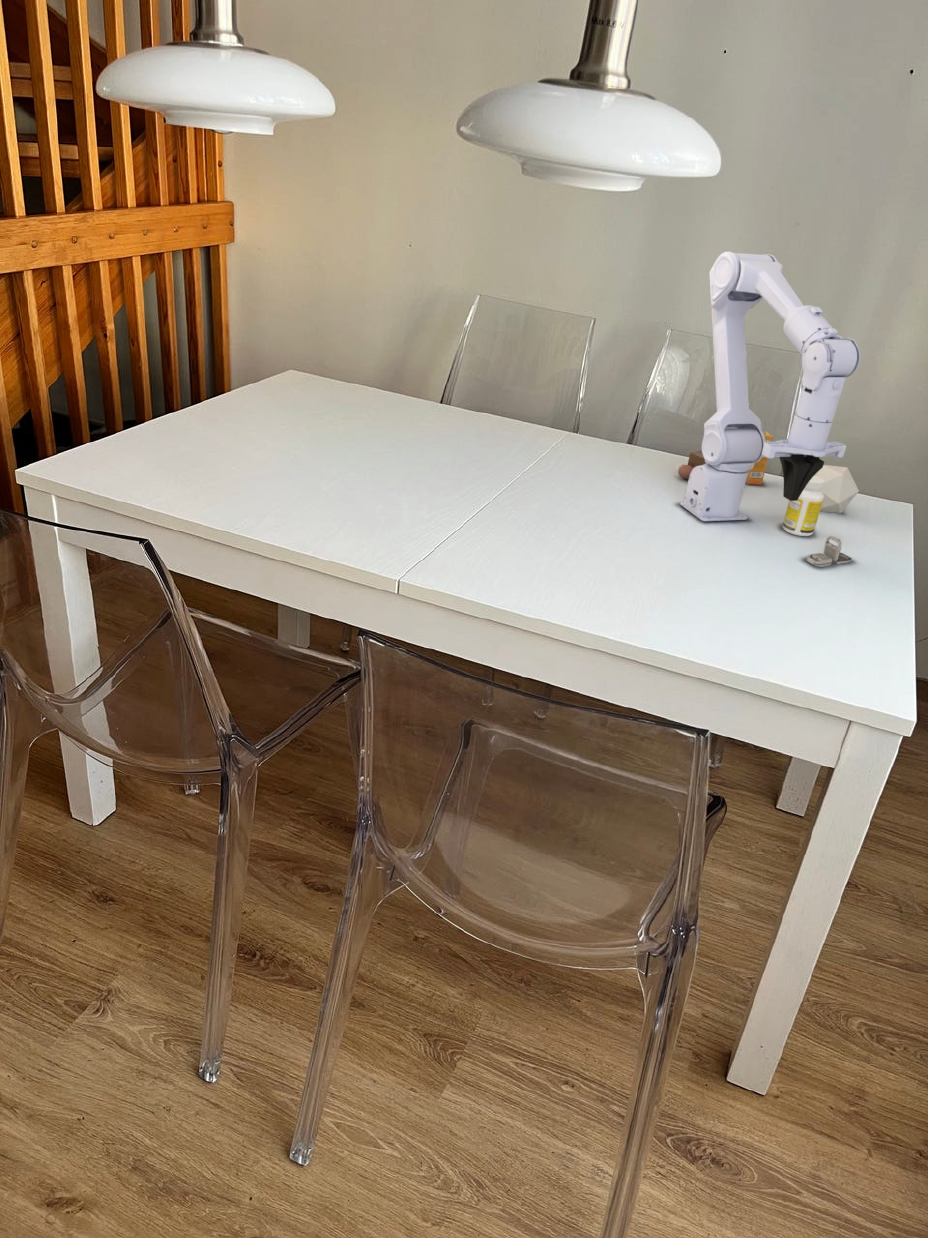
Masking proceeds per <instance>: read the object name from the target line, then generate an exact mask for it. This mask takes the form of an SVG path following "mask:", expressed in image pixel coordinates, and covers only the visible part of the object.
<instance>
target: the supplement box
mask: <svg viewBox="0 0 928 1238" xmlns="http://www.w3.org/2000/svg"><path fill="white" fill-rule="evenodd" d="M762 432H763V435H764V437H765V442H773V438H774V436H773V435H771V434H770V433H769V431H762ZM768 459H769V458H767V457H766V456H764V455H763V457H762V458H761V460H760V461H758V462H757V463H754V467H753V469H750V470H749V472H748V476H747V480H746V484H745V485H750V486H751V485H752V486H762V484H763V481H764V477H765V472H766V468H767V464H768Z"/></svg>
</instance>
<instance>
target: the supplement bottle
mask: <svg viewBox="0 0 928 1238" xmlns="http://www.w3.org/2000/svg"><path fill="white" fill-rule="evenodd" d="M823 484H824V480H823V479H822V478H820V477H817V476H813V477H812V479H811V480H810V481H809V482H808V484H807V485H806V487H805V488H804V490H803V491H802V493H801V495H800V496H799V498H798V500H797V501H790V500H788V503H787V507H786V511H785V515H784V518H783V522H782V529H783V530H784V531H785V532H787V533H789V534H790V535H791V534H792V535H795V536H799V537H810V536H812V535H813V534H814V532H815V529H816V525H817V522H818V520H819V515H820V512H821V511H820V509H821V506H822V502H823V498H824V495H823V493H822V492H821V491H820V490H821V489H822V488H823Z"/></svg>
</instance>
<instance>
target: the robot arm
mask: <svg viewBox="0 0 928 1238" xmlns="http://www.w3.org/2000/svg"><path fill="white" fill-rule="evenodd" d="M783 272H784V266H783V264H782V263H780V262H779V261H778V259H777V258H776V256H775V255H773V254H770V253H765V254H756V253H741V252H733V251H724V252H722V253H721V254H719V255H718V257H717V258H716V260H715V262H714V263H713V265H712V267H711V269H710V270H709V273H708V274H709V290H710V306H711V329H712V348H713V350H712V351H713V364H714V365H713V367H714V385H715V387H714V388H715V400H716V401H715V404H716V412H714V414H713V415H712V416H710V418H708V419H707V420H706V421H705V422H704V424H703V431H704V433H703V438H702V441H701V450H702V453H703V457H704V459H705V462H706V464H704V465H701V466H696V467H695V468H694V469H693V470H692V471H691V473H690V476H689V479H688V480H687V484H686V489H685V493H684V494H685V495H684V497H683V501H681V502H680V506H682V507H683V508H684V509H686V510H687V511H689V512H690V513H691V514H692V515H693V516H695V517H696V518H697V519H699V520H700V521H702V522H724V521H747V520H748V516H747V515H746V514H744V513H742V512H741V511H740V506H741V502H742V499H743V495H744V491H745V488H746V487H745V486H746V485H747V484H746V480H747V476H748V472H749V470H750V469H753V467H754V463H757V462H758V461H760V460H761V458H762V457H763V455H764V456H766V457H767V458H768V459H774V458H778V457H779V461H780V464H781V468H782V469H781V470H782V476H783V498H785V499H787V500H788V501H789V500H790V501H797V500H798V498H799V496H800V495H801V493H802V491H803V490H804V488H805V487H806V485H807V484H808V482H809V481H810V480H811V479H812V477H813V476H814V475H815V474H816V473H817V472H818V471H819V470H820V469H822V468H823V465H825V461H824V460H822V459H821V458H825V457H836V458H844V455H845V453H846V449H847V445H846V444H844V443H841V442H840V441H828V438H829V435H830V432H831V429H832V425H833V421H834V418H835V415H836V412H837V409H838V405H839V403H840V398H841V396H842V392H843V390H844V386H845V382H846V379H847V378H849V377H851V376H852V375H854V374H855V373H856V371H857V370H858V368H859V366H860V363H861V362H860V361H861V351H860V347H859V346H858V344H857V341H856V340H855V339H853V338H851V337H843V336H841V335H839V332H838V330H837V329H836V328H835V327H832V325H830V323H829V322H828V321H827V319H826V318H825V317H824V316H823V315H822V314H823V310H822V309H821V307H820V306H814V305H810V304H808V305H804V304H803V303H802V301H801V299H800V298H799V297H798V295H797V294H796V292H795V290H794V289H793V288H792V286H791V285H790V284H789V282H788V280H787V278H786V277H785V276H784V274H783ZM763 300H764V301H765V302H766V303H767V304H768V305H769V306H770V307H771V309H773V310H774V311H775V312H776V314H778V316H779V317H780V318H781V319H782V320H783V321H784V322H783V329H782V330H783V333H784V335H785V336H786V337H787V338H788V340H789V341H790V342H791V344H793V346H794V348H795V349H797V351H798V353H800V355H801V366H802V372H803V373H802V377H801V382H802V383H801V385H802V388H801V393H800V395H799V399H798V403H797V405H796V409H795V414H794V417H793V420H792V424H791V427H790V431H789V435H788V438H785V439H780V440H777V441H776V440H775V441H772V442H765V437H764V435H763V432H764V431H763V429H762V422H761V419H760V418H759V417H758V416H757V414H755V412H753V411H752V410H751V409H750V401H749V383H748V382H749V380H748V364H747V363H748V362H747V360H748V359H747V344H746V341H747V340H746V324H745V318H746V315H747V313H748V312H749V310H751V309H754V308H755V307H756V306H757V305H758V304H759V303H760V302H761V301H763Z"/></svg>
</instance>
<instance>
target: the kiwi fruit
mask: <svg viewBox="0 0 928 1238" xmlns="http://www.w3.org/2000/svg"><path fill="white" fill-rule="evenodd" d="M693 469H694V468H693V467H692V466H690V465H688V464H682V465H680V466H679V467H678V470H677V472H678V473H677V474H678V475H679V477H681V478H683V479H685V480H689V476H690V473H691V471H692V470H693Z"/></svg>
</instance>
